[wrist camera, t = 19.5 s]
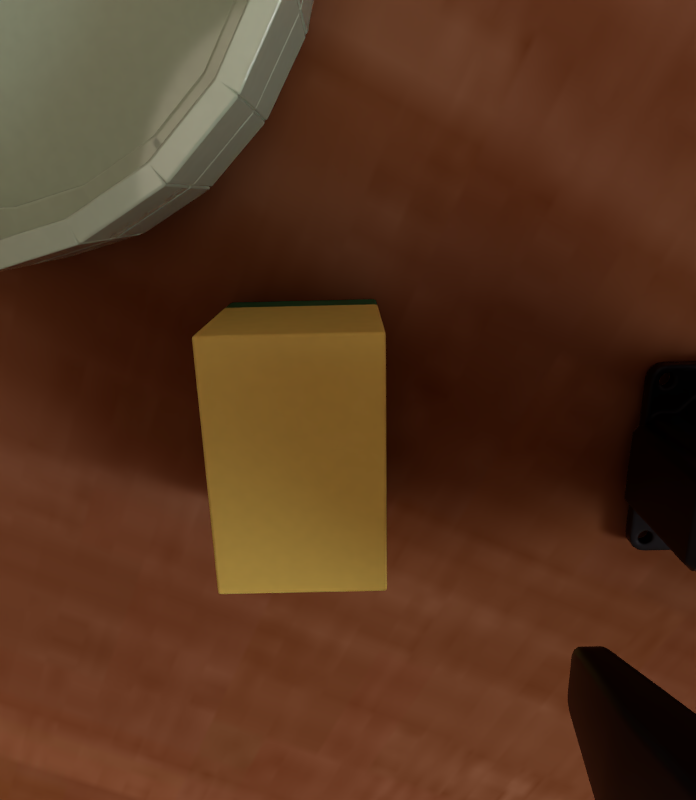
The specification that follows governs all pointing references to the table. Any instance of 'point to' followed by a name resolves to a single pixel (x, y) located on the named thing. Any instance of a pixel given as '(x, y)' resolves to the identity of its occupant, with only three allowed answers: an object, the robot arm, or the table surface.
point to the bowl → (128, 111)
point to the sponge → (295, 445)
